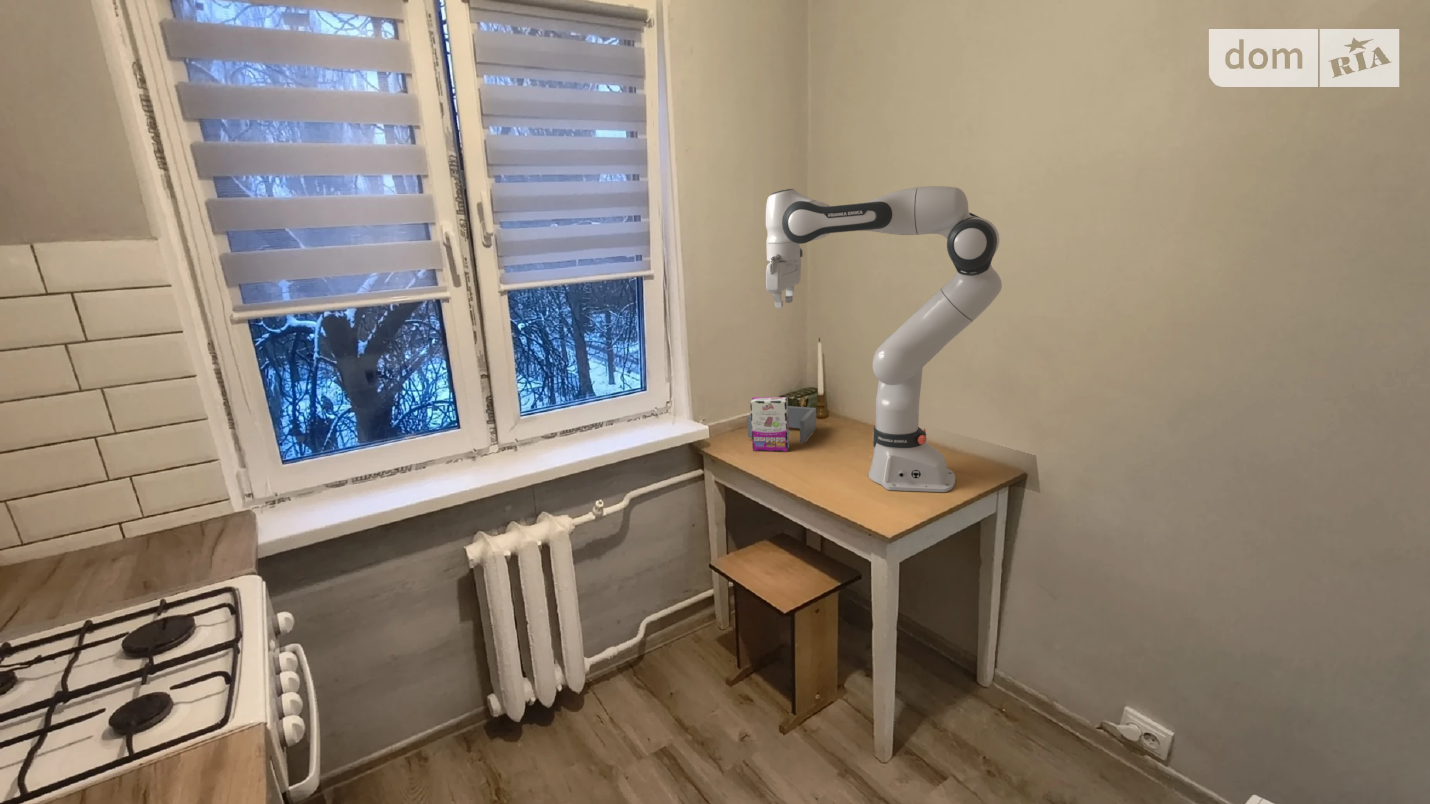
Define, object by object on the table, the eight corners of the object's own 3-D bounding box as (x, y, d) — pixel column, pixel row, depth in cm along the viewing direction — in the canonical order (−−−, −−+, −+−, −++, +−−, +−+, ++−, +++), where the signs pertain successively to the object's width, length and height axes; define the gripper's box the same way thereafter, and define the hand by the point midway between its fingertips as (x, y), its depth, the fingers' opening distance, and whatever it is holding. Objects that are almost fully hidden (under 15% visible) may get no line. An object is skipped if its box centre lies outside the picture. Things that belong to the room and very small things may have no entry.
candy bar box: (789, 446, 200) (788, 396, 196) (788, 452, 196) (786, 401, 191) (754, 445, 203) (752, 396, 198) (752, 451, 198) (749, 401, 193)
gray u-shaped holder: (816, 429, 212) (816, 408, 210) (804, 444, 200) (804, 421, 197) (762, 425, 219) (761, 404, 217) (748, 438, 207) (747, 416, 205)
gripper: (782, 256, 160) (783, 311, 164) (804, 250, 178) (805, 299, 182) (759, 257, 163) (760, 310, 167) (782, 250, 181) (784, 299, 185)
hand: (784, 304), depth 175 cm, fingers open, 8 cm apart
